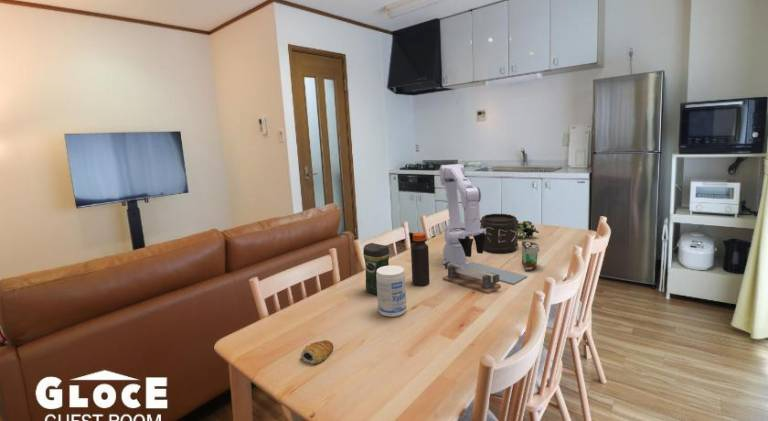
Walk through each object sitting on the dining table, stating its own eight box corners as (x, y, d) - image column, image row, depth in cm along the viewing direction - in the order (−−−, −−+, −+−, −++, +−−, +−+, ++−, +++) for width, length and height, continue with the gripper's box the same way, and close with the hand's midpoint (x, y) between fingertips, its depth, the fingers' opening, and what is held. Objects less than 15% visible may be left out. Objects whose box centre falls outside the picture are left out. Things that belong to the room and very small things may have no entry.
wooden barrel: (478, 253, 184) (478, 221, 181) (480, 242, 201) (480, 213, 198) (518, 255, 179) (519, 222, 176) (517, 243, 196) (518, 213, 192)
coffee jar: (395, 290, 148) (392, 243, 144) (381, 297, 142) (378, 249, 138) (376, 284, 154) (373, 239, 150) (362, 291, 148) (359, 245, 145)
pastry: (322, 343, 114) (321, 332, 113) (340, 350, 110) (339, 338, 109) (298, 360, 106) (297, 347, 105) (317, 367, 102) (315, 354, 102)
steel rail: (444, 268, 157) (444, 263, 157) (448, 267, 159) (448, 261, 158) (495, 283, 140) (495, 276, 140) (499, 281, 142) (499, 274, 141)
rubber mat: (457, 269, 166) (457, 268, 165) (471, 263, 172) (471, 261, 172) (513, 284, 147) (513, 283, 146) (527, 277, 153) (527, 275, 153)
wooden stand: (442, 279, 155) (442, 266, 154) (455, 274, 160) (455, 261, 159) (488, 294, 140) (488, 279, 139) (500, 287, 145) (500, 273, 144)
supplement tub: (398, 320, 125) (396, 276, 122) (373, 314, 129) (370, 273, 126) (411, 307, 133) (409, 266, 130) (387, 302, 138) (384, 263, 135)
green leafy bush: (527, 246, 208) (542, 229, 203) (522, 248, 199) (538, 230, 194) (510, 232, 212) (525, 215, 208) (505, 234, 203) (520, 216, 199)
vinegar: (409, 285, 152) (407, 235, 148) (416, 278, 158) (414, 231, 154) (425, 287, 149) (423, 237, 145) (432, 281, 155) (430, 232, 151)
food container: (541, 272, 157) (542, 249, 155) (525, 272, 158) (526, 249, 156) (536, 262, 168) (536, 240, 166) (521, 262, 170) (521, 240, 168)
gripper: (469, 221, 139) (471, 259, 140) (491, 217, 149) (494, 252, 150) (453, 221, 145) (456, 257, 145) (476, 217, 154) (478, 251, 155)
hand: (474, 254), depth 148 cm, fingers open, 7 cm apart
